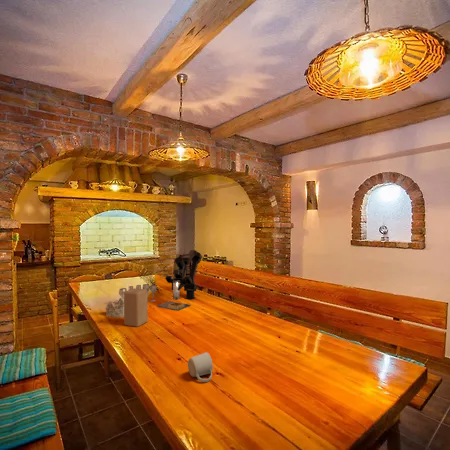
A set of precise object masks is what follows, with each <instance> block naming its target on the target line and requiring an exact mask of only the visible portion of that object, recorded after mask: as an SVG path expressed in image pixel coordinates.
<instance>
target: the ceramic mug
mask: <svg viewBox="0 0 450 450" xmlns="http://www.w3.org/2000/svg"><path fill="white" fill-rule="evenodd" d="M187 369H188V372H189V374H190V376H191V377H192V378H197V380H198V381H199V382H200V383H208V382H210V381H211V380H212V376H213V373H212V372H213V369H214V364H213V359H212V357H211V355H210V353H209V352H207V351H206V352H202V353H200V354H197V355H195V356H192V357H190V358H189V359H188V361H187ZM209 374H210V376H209V377H208V378H201V377H202V376H205V375H209ZM200 376H201V377H200Z"/></svg>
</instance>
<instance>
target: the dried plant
mask: <svg viewBox="0 0 450 450" xmlns="http://www.w3.org/2000/svg"><path fill="white" fill-rule="evenodd" d="M153 258H154V257H153ZM153 258H152V260H151V263H150V266H149V267H150V268H151V266H153V261H154V260H153ZM144 263H145V264H144V266H145V267H147V266H148V265H147V261H145V262H144ZM134 269H136V270H135V271H134V270H132V269H131V268H128V271H130V272H134V273H136V271H138V273H139V274H138V273H137V274H138V275H137V276H139V278H140V279H143V281H144V282H143V283H145V284H149V286H150V285H156V292H157V294H160V292H162V289H161V288H162V286H160V287H158V284H157V282H156V278H155V277H154V276H153V272H151V271H148V269H146V270H145V271H146V272H147V273H146V272H143V270H142V269H140V271H139V268H137V267H136V266H134ZM141 272H142V273H141ZM148 278H149V279H148Z"/></svg>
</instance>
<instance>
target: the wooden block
mask: <svg viewBox="0 0 450 450" xmlns="http://www.w3.org/2000/svg"><path fill="white" fill-rule="evenodd" d="M147 301H148V293H147V290H146V289H143V288H141V289H136V287H133V289H131V290H127V291H125V292H124V317H123V318H124V319H123V321H124V322H123V323H124V325H125V326H129V327H136V328H138V327H140V326H141V325H143V324H146V323H147V322H148V302H147Z"/></svg>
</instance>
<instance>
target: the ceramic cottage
mask: <svg viewBox="0 0 450 450" xmlns="http://www.w3.org/2000/svg"><path fill="white" fill-rule="evenodd" d="M105 310H106V313H105V316H107V317H110V318H124V293H123V294H122V297H121V296H120V297H119V299H118V300H115V301H113V300H110V302H107V304H106V306H105Z"/></svg>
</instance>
